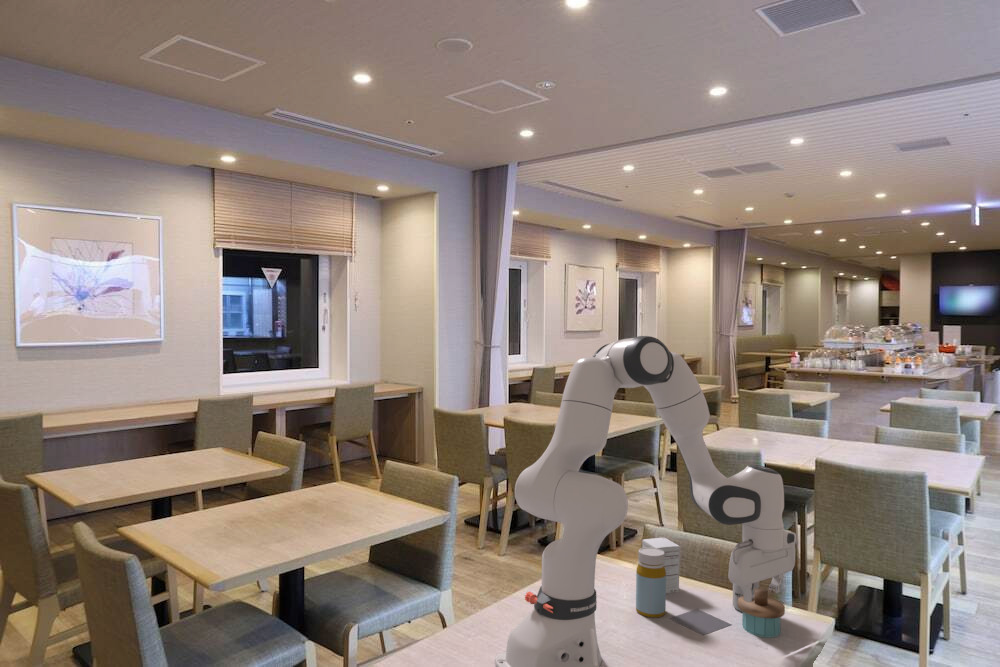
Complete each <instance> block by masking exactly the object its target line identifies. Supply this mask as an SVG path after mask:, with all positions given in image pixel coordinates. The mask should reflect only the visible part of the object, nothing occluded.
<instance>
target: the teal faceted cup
mask: <svg viewBox="0 0 1000 667" xmlns="http://www.w3.org/2000/svg"><path fill="white" fill-rule="evenodd" d="M781 618H782V617H779V618H761V617H756V616H752V615H749V614H747V613H745V612H742V619H741V620H742V629H744V631H745V632H747V633H749V634H750V635H753V636H755V637H762V638H776V637H778V636H780V634H781V628H782V627H781V622H782V621H781Z"/></svg>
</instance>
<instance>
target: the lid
mask: <svg viewBox="0 0 1000 667" xmlns="http://www.w3.org/2000/svg"><path fill="white" fill-rule="evenodd" d="M738 607H739V609H740V610H742V611H743V612H745V613H747V614H749V615H752V616H756V617H761V618H779V617H781V618H782V617H784V616H785V613H786V612H785V611H786V610H785V609H786V608H785V605H784V603H783V602H781V601H780V600H777V599H775V598H773V597H769V590H767V589H766V588H760V587H759V588H756V589H755V595H754V601H753V602H750V603H749V602H746V601H744V596H741V597H739V598H738ZM743 612H742V613H743Z"/></svg>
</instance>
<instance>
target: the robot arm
mask: <svg viewBox="0 0 1000 667" xmlns="http://www.w3.org/2000/svg"><path fill="white" fill-rule="evenodd" d="M639 387H644V388H645V389H646V391H647V392H648V393H649V394H650V397H651V400H652V402H653V404H654V407H655V409H656V411H657V413H658V415H659V417H660V418H661V421H662V422H663V424H664V426H665V427H666V429H667V431H669V433H670V435H671V436H672V438H673V440H674V441H675V443H676V445H677V448H678V449H679V452H680V456H681V458H682V460H683V463H684V465H685V468H686V470H687V473H688V478H689V479H688V480H689V495H690V498H691V501H692V502H693V504H694V505H695V506H696V507H697V508H698V509H700V510H701V511H702V512H705V513H706V514H707V515H709V517H711V518H712V519H713V520H715V521H717V523H719V524H723V525H727V526H729V525H730V526H732V525H742V528H741V529H742V530H741V531H742V532H741V537H742V538H741V542H738V543H736V545H735V547H734V548H733V549H732V551H731V553H730V556H729V557H730V558H729V564H728V574H727V575H728V576H727V577H728V579H729V582H730V583H731V584H732V585H733V584H736V585H738V586H740V587H741V589H742V591H743V593H744V601H746V602H749V603H750V602H753V601H754V594H753V593H752V592H751V589H750V588H752V584H753V583H756V582H759V583H760V582H761V581H764V580H767V579H771V582H770V584H769V583H768V593H771V594H779V593H780V586H781V583H782V581H783V578H784V574H787V573H788V572H792V571H793V569H794V568H795V565H796V545H795V543H796V542H797V534H796V532H793V531H789V530H788V529H787V530H786V529H785V528H784V527H785V526H784V520H783V512H784V509H785V492H784V480H783V478H782V475H781V474H780V473H779V472H778V471H776V470H774V469H773V468H770V467H767V466H763V465H758V464H749V465H748V464H747V466H746V467H745V468H744V469H742V470H741V471H740V472H737V473H736V474H733V475H732V476H729V477H727V476H725V475H724V474H723V473H722V472H721V471H720V470H719V469H718V468H717V467H716V466H715V464H714V462H713V459H712V457H711V454H710V452H709V450H708V446H707V444H706V442H705V440H704V435H703V432H704V430H705V429H706V427H707V425H708V423H709V421H710V416H711V415H710V410H709V409H710V408H709V406H708V403H707V400H706V397H705V395H704V391H703V390H702V388H701V385H700V384H699V382H698V379H697V377H696V376H695V374H694V372H693V371H692V369H691V368H690V366H689V365H688V363H687V362H686V360H685V359H684V358H683V356H682V355H680V354H679V353H678V352H675V351H670V350H669V348H668V347H667V346H666V345H665V343H664V342H662V341H661V340H659V338H657V337H654V336H648V335H639V336H638V335H637V336H635V337H631V338H622V339H618V340H616V341H614V342H611V343H606V344H604V345H602V346H600V348H599V349H597V350H596V351H595V353H593V355H592V356H587V357H586V356H585V357H582V358H579V359H578V360H576V361H575V362H574V364H573V365H572V368H571V369H570V372H569V374H568V377H567V381H566V382H565V386H564V389H563V393H562V396H561V397H562V398H561V402H560V405H559V406H560V407H559V413H558V417H557V419H556V425H555V429H554V432H553V435H552V438H551V439H550V441H549V444H548V446H547V448H546V449H545V451H544V452H543V453H542V455H541V456H540V457H539V458H538V459H537V460H536V461H535V462H534V463H532V464H531V465H529V466H528V467H526V468H525V469H524V470H522V472H521V473H520V474H519V476H518V477H517V479H516V481H515V485H514V498H515V500H516V504H517V505H518V507H519V508H520V509H521V510H523V511H524V512H527V513H529V514H530V515H532V516H534V517H536V518H539V519H544V520H548V521H551V522H556V523H560V524H562V526H563V533H562V537H561V538H559V539H556V540H554V541H552V542H550V543H548V545H546V547H545V548H544V550H543V552H542V555H541V586H540V587H539V590H538V592H537V595H536V594H534V592H532V591H527V592H526V593H525V595H524V600H525V601H526V602H527V603H529V604H530V605H533V608H532V609H531V610H530V611H529V612H528V613H527V615H526V616H525V617H524V618H523V619H522V620H521V621H520V622H518V623H517V625H516V626H515V627H514V628H513V629H512V630H511V631H510V632H509V635H508V638H507V642H506V649H505V651H502V652H501V653H500V652H499V654H497V655H496V656H495V658H494V665H495V667H600V665H601V663H602V659H603V658H602V654H601V651H600V648H599V644H598V643H599V642H598V638H597V630H596V628H597V627H596V616H595V615H596V613H595V612H596V611H597V601H598V600H597V590H596V589H595V578H596V563H597V562H596V561H597V555H598V552H599V549H600V546H601V544H602V542H603V541H604V539H605V538H606V537H607V536H608V535H609V534H611V533H612V532H614V531H615V530H617V529H618V528H620V526H621V525H622V524H623V522H624V521H625V519H626V517H627V514H628V509H629V501H628V500H629V499H628V496H627V493H626V491H625V489H624V487H623V486H622V485H621V484H620V483H618V482H616V481H614V480H612V479H610V478H606V477H604V476H601V475H597V474H592V473H586V472H580V470H581V467H582V465H583V464H584V462H585V461H587V459H588V458H589V457H592V456H594V455H596V454H599V453H600V452H602V450H603V449H604V448H605V447H606V445H607V440H608V437H609V436H608V434H609V429H610V424H611V420H612V419H611V417H612V413H613V406H614V398H615V396H616V394H617V391H618V390H619V389H620V388H621V389H624V388H626V389H634V388H639ZM737 547H738V548H737Z"/></svg>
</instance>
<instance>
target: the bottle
mask: <svg viewBox="0 0 1000 667" xmlns="http://www.w3.org/2000/svg"><path fill="white" fill-rule="evenodd" d="M637 552H638V558H637V559H638V562H637V563H638V564H637V567H636V571H635V572H636V574H635V576H636V579H635V582H636V583H635V587H636V588H635V589H636V590H635V610H636V612H637V613H638V614H639V615H641V616H643V617H647V618H651V619H652V618H654V619H655V618H656V619H657V618H662V617H663V616H665V614H666V609H667V608H666V607H667V606H666V605H667V604H666V603H667V593H666V570H665V567H664V556H665V554H664V551H662V550H660V549H657V548H651V547H646V548H642V547H641V548H639V549H638V551H637Z"/></svg>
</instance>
